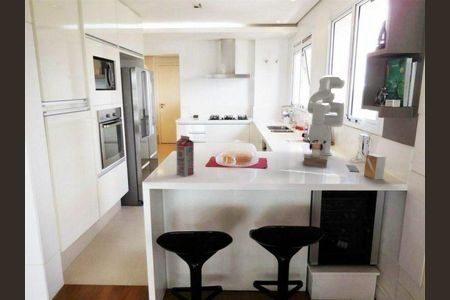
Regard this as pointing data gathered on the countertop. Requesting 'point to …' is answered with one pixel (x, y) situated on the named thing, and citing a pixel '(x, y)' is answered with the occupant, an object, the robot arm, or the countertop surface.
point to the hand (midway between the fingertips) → (315, 149)
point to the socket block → (315, 161)
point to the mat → (352, 168)
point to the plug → (315, 150)
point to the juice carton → (185, 157)
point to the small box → (374, 166)
